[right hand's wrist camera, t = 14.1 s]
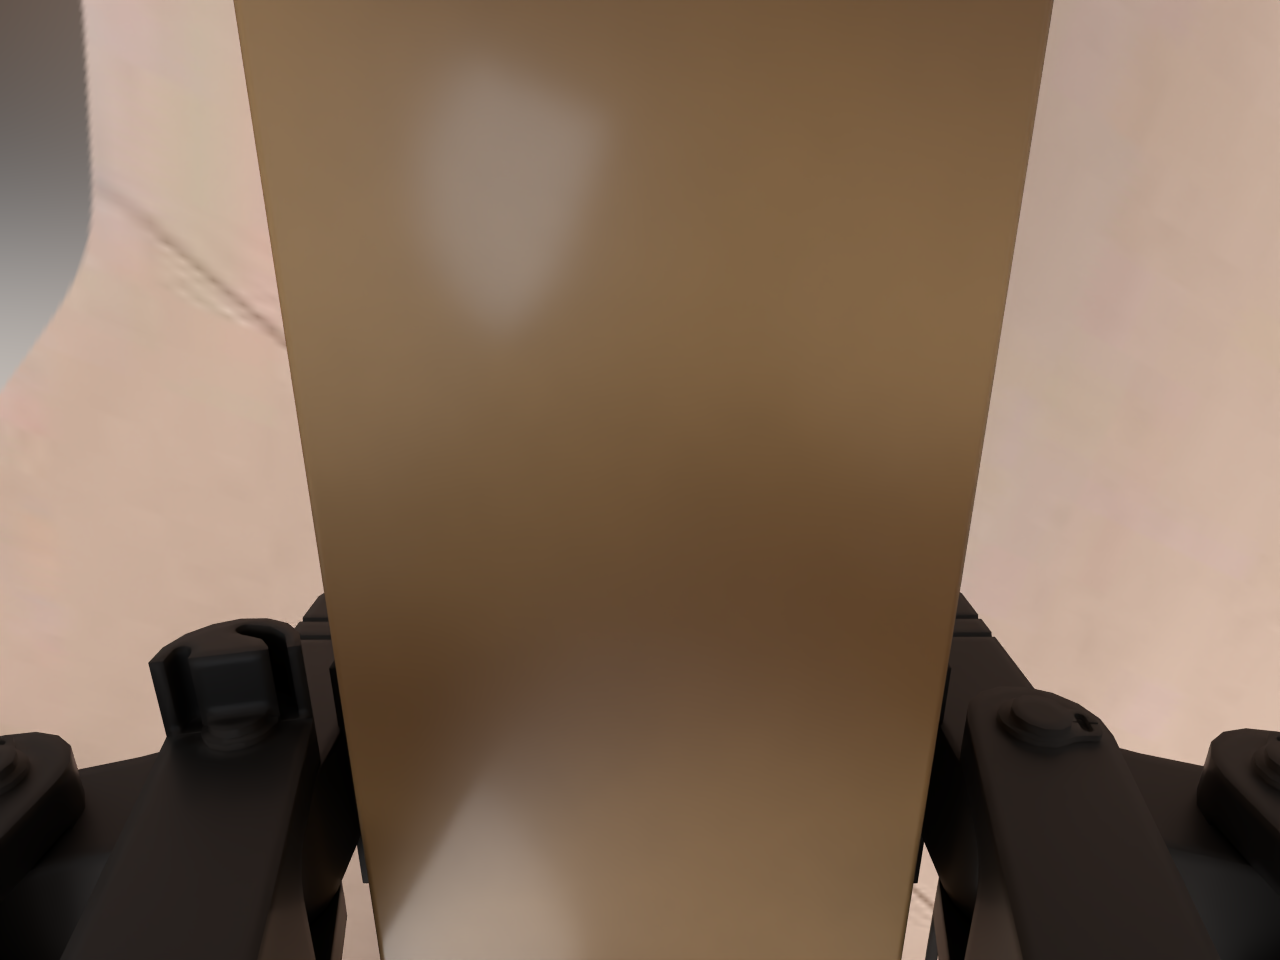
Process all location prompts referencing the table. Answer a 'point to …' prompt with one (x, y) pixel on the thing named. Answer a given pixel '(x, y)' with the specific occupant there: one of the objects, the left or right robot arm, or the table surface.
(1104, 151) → the table surface
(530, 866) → the post
